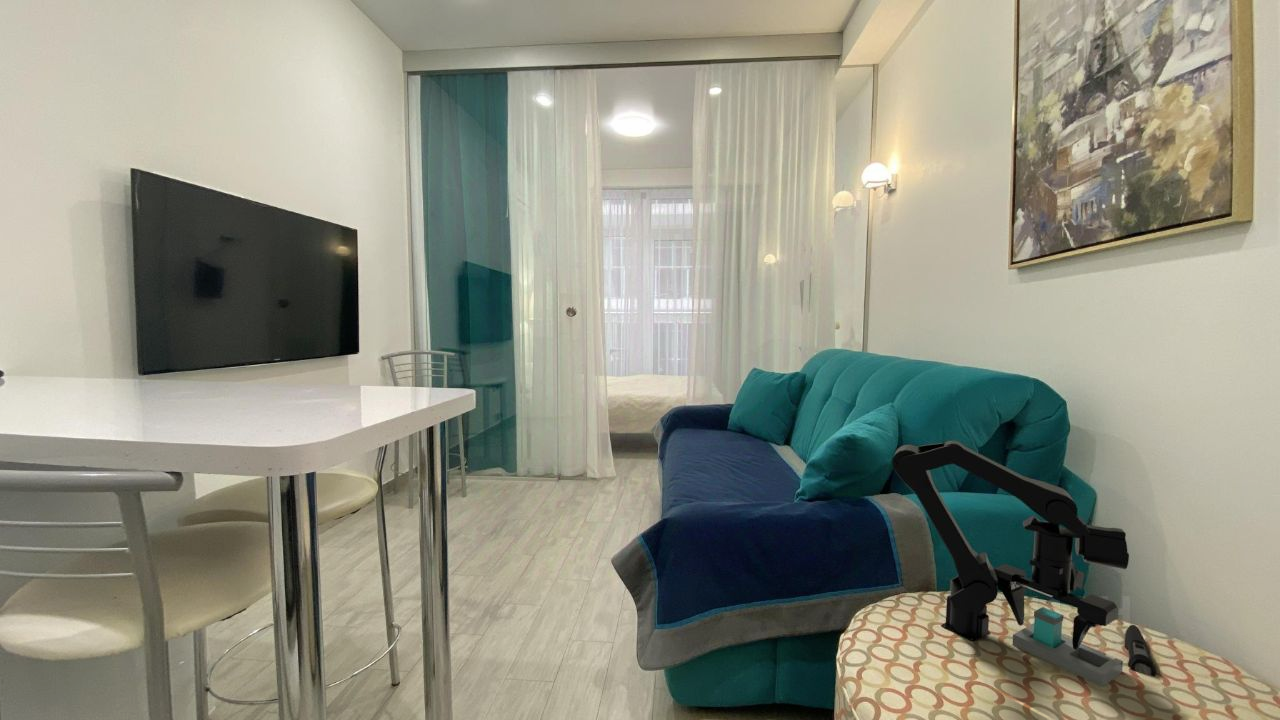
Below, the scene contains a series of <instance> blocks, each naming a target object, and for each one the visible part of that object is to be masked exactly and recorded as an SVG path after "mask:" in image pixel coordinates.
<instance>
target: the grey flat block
mask: <svg viewBox="0 0 1280 720" xmlns="http://www.w3.org/2000/svg"><path fill="white" fill-rule="evenodd" d="M1033 635H1034V623H1031V624H1030V625H1028V626H1026V627H1024V628H1023V629H1020V630H1019V631H1017V632H1015V633H1013V634H1012V643H1011V645H1012V646H1014V647H1016V648H1019V649H1021V650H1022V651H1025V652H1027V653H1029V654H1031V655H1033V656H1035V657H1038V658H1040V659H1042V660H1044V661H1047V662H1048V663H1050V664H1052V665H1055V666H1057V667H1059V668H1062V669H1063V670H1066V671H1068V672H1070V673H1072V674H1075V675H1077V676H1078V677H1081V678H1082V679H1085V680H1088V681H1089V682H1092V683H1093V684H1096V685H1098V686H1100V687H1104V686H1106V685H1108V684H1109V683H1110V682H1111V681H1112V680H1113V679H1116V678H1117V677H1118V676H1119V675H1120V674H1122V673H1123V665H1124V664H1123V663H1124V661H1123V660H1122V659H1120V658H1118V657H1115V656H1113V655H1110V654H1108V653H1106V652H1102V651H1100V650H1099V649H1096V648H1093V647H1091V646H1089V645H1087V644H1084V643H1083V642H1081V644H1080V646H1079V647H1078V649H1076V650H1075V649H1073V644H1072V639H1073V638H1070V637H1067V636H1065V635H1063V634H1061V645H1060V646H1058V647H1057V648H1053V647H1051V646H1049V645H1046V644H1044V643H1042V642H1040V641H1037V640H1035V639H1033Z"/></svg>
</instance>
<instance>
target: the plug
mask: <svg viewBox="0 0 1280 720" xmlns="http://www.w3.org/2000/svg"><path fill="white" fill-rule="evenodd" d="M1033 617H1034V619H1033V620H1034V621H1033V622H1034V635H1033V639H1035V640H1037V641H1040V642H1042V643H1044V644H1046V645H1049V646H1051V647H1053V648H1057V647H1058V646H1060V645H1061V635H1062V633H1063V632H1062V630H1063V629H1062V628H1063V621H1064V614H1061V613H1059V612H1057V611H1054V610H1051V609H1049V608H1046V607H1044V606H1042V607H1039V608H1038V609H1036V610H1035V611H1033Z"/></svg>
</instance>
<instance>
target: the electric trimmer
mask: <svg viewBox="0 0 1280 720" xmlns="http://www.w3.org/2000/svg"><path fill="white" fill-rule="evenodd" d="M1139 628H1140V627H1138V626H1137V625H1135V624H1130V625H1129V626H1128V628H1127V629H1126V630H1125V634H1124V648H1125V649H1126V650H1127V651H1128V656H1129V659H1128V662H1127V666H1128V668H1129V669H1130V670H1131V671H1134V672H1137V673H1140V674H1145V675H1149V676H1151V677H1154V678H1155V677H1156V675H1157V668H1156V666H1155V663H1154V661H1153V658H1152V656H1151V652H1150V650H1149V646H1148V645H1147V643H1146V640H1145V638H1144V636H1143V634H1142V633H1141V631H1140V629H1139Z"/></svg>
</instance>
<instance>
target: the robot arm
mask: <svg viewBox="0 0 1280 720" xmlns="http://www.w3.org/2000/svg"><path fill="white" fill-rule="evenodd" d="M948 465H955V466H957V467H959V468H961V469H963V470H965V471H967V472H968V473H970V474H972V475H974V476H977V477H978V478H980V479H981V480H984V481H986V482H988V483H989V484H992V485H993V486H995V487H997V488H999V489H1001V490H1003V491H1005V492H1006V493H1008V494H1010V495H1012V496H1014V497H1015V498H1016V499H1018V500H1019V501H1021V502H1022V503H1023V504H1024V505H1025V506H1026V507H1028V508H1029V509H1030V510H1031V511H1033V512H1034V513H1035V514H1037V515H1038V516H1040V517H1041V518H1042V519H1043V520H1040V519H1039V518H1038V517H1037V516H1036V515H1034V514H1032V515H1031V516H1030V517H1028V518H1027V519H1024V520H1023V521H1022V525H1023V528H1024V530H1026V531H1032V532H1034V536H1033V537H1034V540H1033V541H1034V542H1033V555H1032V558H1029V565H1030V566H1032V568H1031V570H1032V571H1031V579H1030V578H1028V577H1027V573H1026V571H1025V570H1024V569H1020V568H1019V567H1015V566H1012V565H1010V564H1007V563H1005V564H1002V565H1000V566H998V567H994V566H993V565H992V564H991V563H990V560H989V558H988V555H987V552H985V551H984V552H981V553H980V554H979V553H978V552H976V551H975V550H974V549H973V548H972V546H971V545H970V543H969V541H968V540H967V538H966V537H965V535H964V533H963V531H962V530H961V528H960V526H959V525H958V523H957V521H956V519H955V518H954V516H953V514H952V513H951V512H952V511H950V509H949V507H948V506H947V504H946V501H944V499H943V497H942V495H941V494H940V492H939V490H938V489H937V487H936V485H935V482H934V481H933V480H934V479H933V477H932V474H931V470H935V469H939V468H942V467H945V466H948ZM891 466H892V469H893V471H894V472H895V474H897V476H898V477H899V478H900V479H901V481H902V482H903V484H904V485H906V486H907V487H908V488H909V489H910V490H911V491H912V492H913V493H914V494H915V495H916V497H917V499H918V500H919V502H920V504H921V506H922V507H923V509H924V510H925V512H926V514H927V516H928V517H929V520H930V521H931V523H932V525H933V526H934V528H935V530H936V531H937V533H938V535H939V537H940V539H941V541H942V542H943V544H944V545H945V547H946V549H947V551H948V553H949V554H950V557H951V558H952V559H953V563H954V564H953V565H954V566H955V569H956V573H957V576H955V577H953V578H951V579H950V589H949V593H950V594H949V595H947V596H946V604H945V605H946V606H945V607H946V609H945V622H944V623H941V625H940V627H941V628H943V629H946V630H947V631H949V632H952V633H953V634H956V635H958V636H959V637H962V638H963V639H966V641H967V640H968V641H970V642H976V641H978V640H982V639H983V638H986V637H988V636H989V633H990V634H991V632H990V631H989V623H990V615H989V614H987V613H988V612H987V611H988V606H987V604H990V603H992V602H994V601H995V600H996V598H997V596H998V595H999V593H998V591H1000V592H1001V593H1002V594H1003V596H1004V598H1005V600H1006V601H1007V604H1008V606H1009V607H1010V609H1011V611H1012V615H1013V617H1014V618H1015V620H1016V622H1017V624H1018V626H1020V627H1021V626H1024V621H1025V594H1026V591H1027V590H1029V591H1033V592H1035V593H1037V594H1040V595H1043V596H1046V597H1047V598H1050V599H1053V600H1055V601H1058V602H1061V603H1064V604H1066V605H1069V606H1072V607H1074V608H1076V609H1077V610H1076V612H1077V615H1076V616H1074V617H1073V628H1072V629H1073V630H1072V638H1071V639H1072V644H1073V649H1075V650H1076V649H1078V647H1079V646H1080V644H1081V643H1083V640H1084V639H1085V638H1086V635H1087V634H1088V632H1089V631H1090V629H1091V627H1092V628H1096V627H1097V626H1102V627H1106V626H1108V625H1109V624H1111V623H1113V622H1115V621H1116V620H1117V619H1118V618H1119V608H1118V606H1117V605H1116V602H1114V601H1112V600H1109V599H1106V598H1103V597H1100V596H1097V595H1094V594H1091V593H1090V594H1089V595H1087V596H1085V597H1084V598H1083V597H1080V596H1079V595H1075V594H1073V593H1070V592H1071V591H1072V592H1075V591H1076V590H1077V589H1079V590H1082V589H1083V584H1084V583H1083V582H1084V579H1085V576H1086V572H1082V571H1079V570H1076V569H1075V568H1076V567H1075V566H1076V565H1075V562H1073V561H1072V560H1073V546H1075V549H1074V550H1075V553H1076V556H1079V557H1081V556H1082V560H1083V562H1084V563H1088V564H1092V565H1093V564H1094V565H1099V566H1104V567H1111V568H1115V569H1116V568H1117V569H1122V570H1126V569H1127V568H1128V566H1129V559H1130V554H1129V552H1128V544H1127V540H1126V535H1127V534H1126V532H1125V531H1124V530H1123V529H1122V528H1118V527H1103V526H1098V525H1090V524H1086V522H1085V520H1084V519H1083V517H1082V516H1079V515H1078V507H1077V504H1076V503H1075V501H1074V500H1073V498H1072V497H1071V495H1070V493H1069V492H1068V491H1067V490H1065V489H1064V488H1062V487H1060V486H1057V485H1054V484H1051V483H1048V482H1046V481H1042V480H1038V479H1033V478H1030V477H1027V476H1024V475H1022V474H1020V473H1018V472H1016V471H1014V470H1012V469H1010V468H1008V467H1006V466H1004V465H1002V464H1000V463H999V462H996V461H994V460H992V459H990V458H989V457H986V456H984V455H982V454H980V453H979V452H976V451H975V450H973V449H971V448H969V447H966V446H965V445H964V444H962V443H961V441H957V440H948V441H945V442H940V443H931V444H930V443H929V444H925V445H924V444H923V445H920V446H916V445H913V444H904V445H901V446H900V447H898V448H897V449H896V451H895V453H894V455H893V457H892V460H891ZM1061 526H1063V527H1061ZM1074 538H1075V540H1074ZM1074 541H1075V545H1074V544H1073V543H1074Z"/></svg>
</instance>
